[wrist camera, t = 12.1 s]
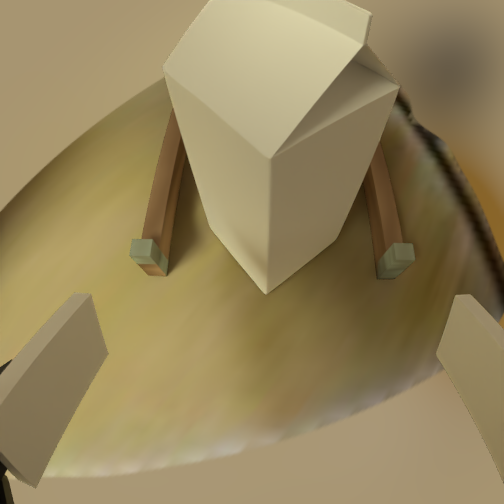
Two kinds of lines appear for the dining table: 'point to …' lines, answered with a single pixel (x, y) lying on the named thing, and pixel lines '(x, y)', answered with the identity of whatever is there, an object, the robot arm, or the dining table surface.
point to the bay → (167, 191)
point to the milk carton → (278, 123)
